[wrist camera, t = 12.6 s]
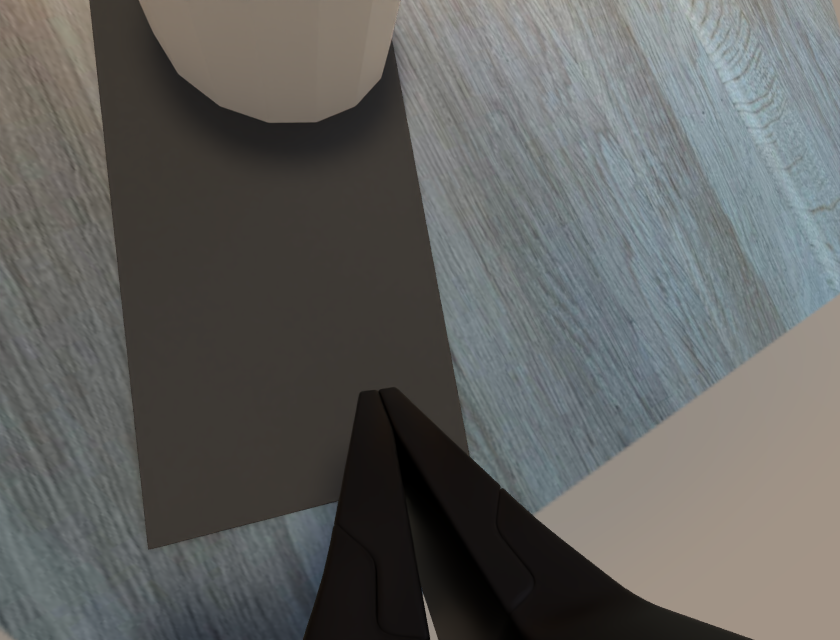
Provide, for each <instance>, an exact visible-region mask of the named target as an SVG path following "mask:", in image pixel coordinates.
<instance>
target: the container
mask: <svg viewBox="0 0 840 640" xmlns="http://www.w3.org/2000/svg"><path fill="white" fill-rule="evenodd" d="M400 1H401V0H139V2H140V4H141V7H142V9H143V11H144V13H145V16H146V18H147V20H148V22H149V25H150V27H151V29H152V31H153V33H154V35H155V37H156V38H157V40H158V42H159V43H160V45H161V46H162V48H163V50H164V51H165V53H166V55H167V56H168V58H169V60H170V61H171V63H172V65H173V66H174V68H175V69H176V71H177V73H178V74H179V75H180V76H181V77H183V78H184V79H185V80H187V81H188V82H189V83H190V84H192V85H193V86H194V87H196V88H197V89H198V90H199V91H201V92H202V93H203V94H205V95H206V96H207V97H208V98H210V99H211V100H212V101H214V102H215V103H216V104H218V105H219V106H221V107H224V108H227V109H230V110H233V111H235V112H238V113H241V114H244V115H247V116H250V117H253V118H256V119H259V120H262V121H265V122H268V123H296V122H318V121H321V120H323V119H326V118H328V117H330V116H333V115H335V114H338V113H340V112H343V111H345V110H348V109H350V108H352V107H355V106H356V105H357V104H358V103H359V102H360V101H361V100H362V99H363V97H364V96H365V95H366V94H367V93H368V92H369V91H370V90H371V89H372V88H373V86H374V85H375V84H376V83H377V82H378V81H379V80H380V79H381V77H382V73H383V69H384V66H385V62H386V58H387V55H388V51H389V47H390V44H391V40H392V35H393V31H394V27H395V23H396V18H397V14H398V10H399V6H400Z"/></svg>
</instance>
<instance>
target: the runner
mask: <svg viewBox="0 0 840 640" xmlns="http://www.w3.org/2000/svg"><path fill="white" fill-rule="evenodd" d="M90 10H91V19H92V29H93V38H94V47H95V57H96V66H97V75H98V85H99V94H100V103H101V113H102V122H103V131H104V141H105V150H106V159H107V169H108V178H109V187H110V197H111V206H112V215H113V225H114V234H115V244H116V253H117V262H118V272H119V281H120V290H121V300H122V309H123V318H124V328H125V337H126V346H127V356H128V365H129V374H130V384H131V393H132V402H133V412H134V421H135V430H136V440H137V449H138V459H139V468H140V477H141V487H142V496H143V505H144V515H145V524H146V533H147V543H148V550H149V549H153V548H157V547H161V546H165V545H169V544H173V543H177V542H180V541H184V540H188V539H192V538H196V537H200V536H204V535H208V534H211V533H215V532H219V531H223V530H227V529H231V528H235V527H239V526H243V525H246V524H250V523H254V522H258V521H262V520H266V519H270V518H274V517H277V516H281V515H285V514H289V513H293V512H297V511H301V510H305V509H309V508H312V507H316V506H320V505H324V504H328V503H332V502H336V501H339V496H340V490H341V485H342V480H343V475H344V470H345V464H346V459H347V454H348V449H349V443H350V438H351V433H352V428H353V423H354V417H355V412H356V407H357V402H358V397H359V393H360V392H361V391H368V390H377V391H379V390H380V389H383V388H390V387H396V388H398V389H399V390H400V391H401V392H402V393H403V394H404V395H405V396H406V397H407V398H408V399H409V400H410V401H412V402H413V403H414V404H415V405H416V406H417V407H418V408H419V409H420V410H421V411H422V412H423V413H424V414H425V415H426V416H427V417H428V418H429V419H431V420H432V421H433V422H434V423H435V424H436V425H437V426H438V427H439V428H440V429H441V430H442V431H443V432H444V433H445V434H446V435H447V436H448V437H450V438H451V439H452V440H453V441H454V442H455V443H456V444H457V445H458V446H459V447H460V448H461V449H462V450H463V451H464V452H465V453H466V454H467V455H469V450H468V445H467V439H466V434H465V429H464V423H463V418H462V413H461V407H460V402H459V397H458V391H457V386H456V381H455V375H454V370H453V364H452V359H451V354H450V348H449V343H448V338H447V332H446V327H445V322H444V316H443V311H442V305H441V300H440V295H439V289H438V284H437V279H436V273H435V268H434V263H433V257H432V252H431V247H430V241H429V236H428V230H427V225H426V220H425V214H424V209H423V204H422V198H421V193H420V188H419V182H418V177H417V171H416V166H415V161H414V155H413V150H412V145H411V139H410V134H409V129H408V123H407V118H406V113H405V107H404V102H403V96H402V91H401V86H400V80H399V75H398V70H397V64H396V59H395V54H394V48H393V43H392V40H391V44H390V47H389V51H388V55H387V58H386V62H385V66H384V69H383V73H382V77H381V79H380V80H379V81H378V82H377V83H376V84H375V85H374V86H373V88H372V89H371V90H370V91H369V92H368V93H367V94H366V95H365V96H364V97H363V99H362V100H361V101H360V102H359V103H358V104H357V105H356V106H355V107H352V108H350V109H348V110H345V111H343V112H340V113H338V114H335V115H333V116H330V117H328V118H326V119H323V120H321V121H318V122H296V123H268V122H265V121H262V120H259V119H256V118H253V117H250V116H247V115H244V114H241V113H238V112H235V111H233V110H230V109H227V108H224V107H221V106H219V105H218V104H216V103H215V102H214V101H212V100H211V99H210V98H208V97H207V96H206V95H205V94H203V93H202V92H201V91H199V90H198V89H197V88H196V87H194V86H193V85H192V84H190V83H189V82H188V81H187V80H185V79H184V78H183V77H181V76H180V75H179V74H178V73H177V71H176V69H175V68H174V66H173V65H172V63H171V61H170V60H169V58H168V56H167V55H166V53H165V51H164V50H163V48H162V46H161V45H160V43H159V42H158V40H157V38H156V37H155V35H154V33H153V31H152V29H151V27H150V25H149V22H148V20H147V18H146V16H145V13H144V11H143V9H142V7H141V4H140V2H139V0H90Z"/></svg>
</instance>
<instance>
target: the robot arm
mask: <svg viewBox="0 0 840 640" xmlns="http://www.w3.org/2000/svg"><path fill="white" fill-rule="evenodd" d="M500 488H501V487H500V485H499V484H498V483H497V482H496V481H495V480H494V479H493V478H492V477H491V476H490V475H489V474H488V473H486V472H485V471H484V470H483V469H482V468H481V467H480V466H479V465H478V464H477V463H476V462H475V461H474V460H473V459H472V458H471V457H470V456H469V455H467V454H466V453H465V452H464V451H463V450H462V449H461V448H460V447H459V446H458V445H457V444H456V443H455V442H454V441H453V440H452V439H451V438H450V437H448V436H447V435H446V434H445V433H444V432H443V431H442V430H441V429H440V428H439V427H438V426H437V425H436V424H435V423H434V422H433V421H432V420H431V419H429V418H428V417H427V416H426V415H425V414H424V413H423V412H422V411H421V410H420V409H419V408H418V407H417V406H416V405H415V404H414V403H413V402H412V401H410V400H409V399H408V398H407V397H406V396H405V395H404V394H403V393H402V392H401V391H400V390H399V389H398V388H396V387H390V388H383V389H380V390H379V391H377V390H368V391H361V392H360V393H359V397H358V402H357V407H356V412H355V417H354V423H353V428H352V433H351V438H350V443H349V449H348V454H347V459H346V464H345V470H344V475H343V480H342V485H341V490H340V496H339V501H338V506H337V511H336V516H335V522H334V527H333V531H332V536H331V541H330V546H329V551H328V555H327V560H326V564H325V568H324V573H323V576H322V580H321V583H320V586H319V590H318V593H317V597H316V600H315V603H314V607H313V610H312V613H311V616H310V619H309V622H308V625H307V628H306V631H305V634H304V637H303V640H430V635H429V629H428V623H427V618H426V612H425V606H424V601H423V595H422V590H423V593H424V597H425V600H426V603H427V606H428V609H429V612H430V615H431V618H432V621H433V624H434V627H435V631H436V634H437V637H438V640H753V639H750V638H747V637H744V636H742V635H739V634H736V633H733V632H730V631H727V630H724V629H722V628H719V627H716V626H713V625H710V624H708V623H704V622H702V621H699V620H696V619H693V618H690V617H687V616H685V615H682V614H679V613H676V612H673V611H671V610H668V609H665V608H662V607H660V606H657V605H655V604H652V603H650V602H648V601H646V600H644V599H642V598H640V597H639V596H637V595H635V594H633V593H632V592H630V591H629V590H627V589H625V588H624V587H623V586H621V585H620V584H619V583H617V582H616V581H615V580H613V579H612V578H611V577H609V576H608V575H607V574H605V573H604V572H603V571H602V570H600V569H599V568H598V567H597V566H595V565H594V564H593V563H592V562H590V561H589V560H587V559H586V558H585V557H584V556H583V555H581V554H580V553H579V552H577V551H576V550H575V549H574V548H572V547H571V546H570V545H568V544H567V543H566V542H564V541H563V540H562V539H561V538H559V537H558V536H557V535H556V534H555V533H553V532H552V531H551V530H550V529H548V528H547V527H546V526H545V525H543V524H542V523H541V522H540V521H539V520H537V519H536V518H535V517H534V516H533V515H532V514H531V513H530V512H528V511H527V510H526V509H525V508H524V507H523V506H522V505H521V504H520V503H518V502H517V501H516V500H515V499H514V498H513V497H512V496H511V495H510V494H509V493H508V492H507V491H506V490H505V489H503V488H501V489H500ZM421 587H422V589H421Z"/></svg>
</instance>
